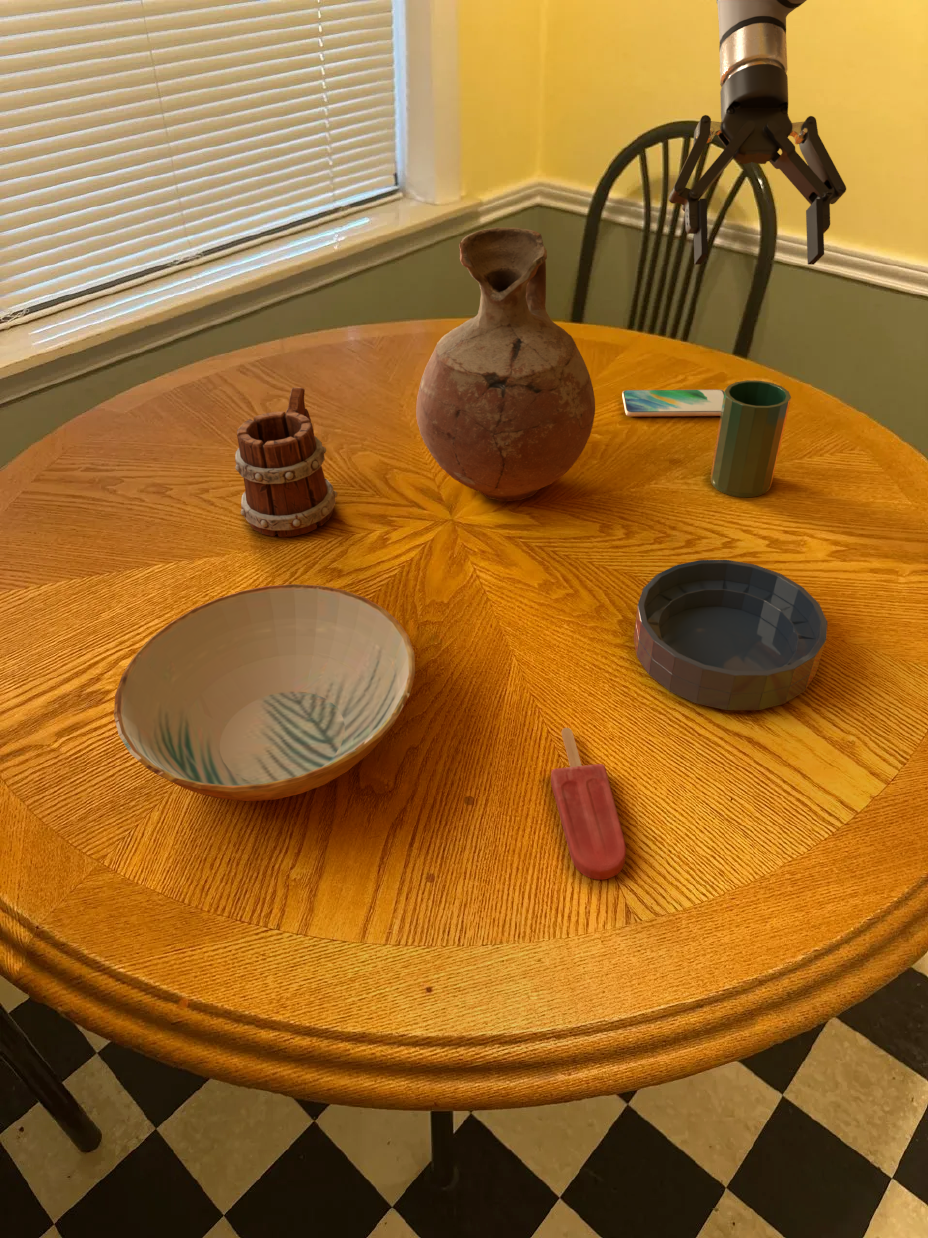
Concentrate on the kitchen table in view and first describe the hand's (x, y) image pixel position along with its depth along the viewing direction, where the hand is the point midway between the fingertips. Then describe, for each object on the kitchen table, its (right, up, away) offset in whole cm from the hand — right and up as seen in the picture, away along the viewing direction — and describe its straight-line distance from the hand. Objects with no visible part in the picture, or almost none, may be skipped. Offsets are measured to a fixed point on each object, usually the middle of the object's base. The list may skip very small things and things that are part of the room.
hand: (758, 259), depth 101 cm
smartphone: (-4, -11, +25) cm, 28 cm away
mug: (-56, -28, +8) cm, 63 cm away
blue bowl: (-9, -45, -16) cm, 49 cm away
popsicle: (-25, -57, -29) cm, 69 cm away
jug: (-29, -24, +11) cm, 39 cm away
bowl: (-51, -53, -22) cm, 77 cm away
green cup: (+1, -25, +9) cm, 26 cm away
